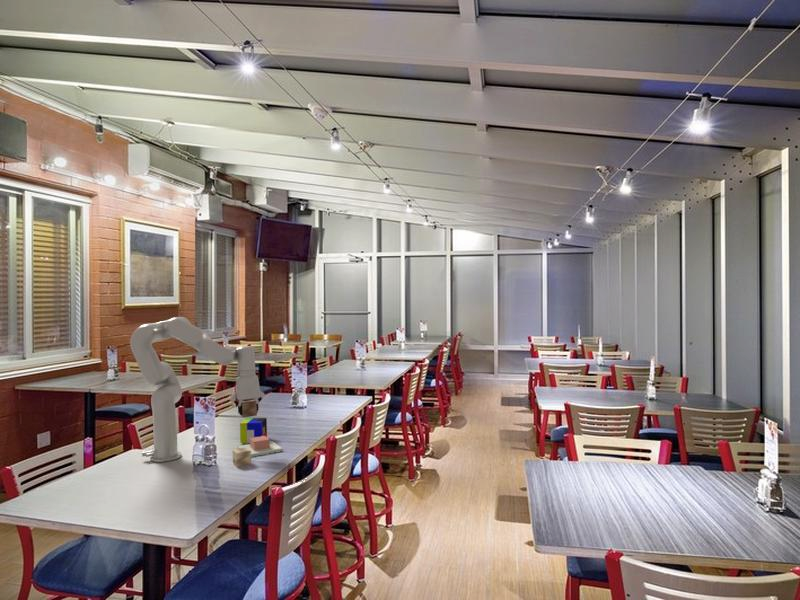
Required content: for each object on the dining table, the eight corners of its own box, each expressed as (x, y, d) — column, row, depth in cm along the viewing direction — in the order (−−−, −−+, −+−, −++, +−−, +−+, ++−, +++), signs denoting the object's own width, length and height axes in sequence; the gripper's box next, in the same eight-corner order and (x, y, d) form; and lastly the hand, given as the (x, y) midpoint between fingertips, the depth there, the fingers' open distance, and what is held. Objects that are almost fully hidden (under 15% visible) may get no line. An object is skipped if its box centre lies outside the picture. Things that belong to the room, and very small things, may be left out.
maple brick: (236, 467, 211) (236, 453, 211) (232, 463, 216) (232, 449, 216) (251, 464, 214) (250, 450, 214) (247, 460, 219) (246, 447, 219)
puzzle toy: (261, 443, 244) (260, 422, 244) (240, 444, 245) (239, 423, 244) (267, 437, 254) (266, 417, 254) (247, 438, 255) (246, 418, 254)
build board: (247, 457, 223) (246, 445, 223) (237, 448, 237) (237, 437, 236) (282, 451, 231) (282, 439, 231) (271, 442, 245) (271, 432, 245)
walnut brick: (243, 417, 225) (242, 404, 225) (240, 414, 230) (239, 401, 230) (256, 415, 228) (256, 402, 228) (253, 412, 233) (253, 399, 233)
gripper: (228, 376, 221) (230, 418, 221) (268, 372, 230) (269, 412, 230) (225, 374, 228) (227, 415, 228) (263, 370, 236) (265, 409, 236)
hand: (248, 413), depth 229 cm, fingers closed on walnut brick, 6 cm apart
